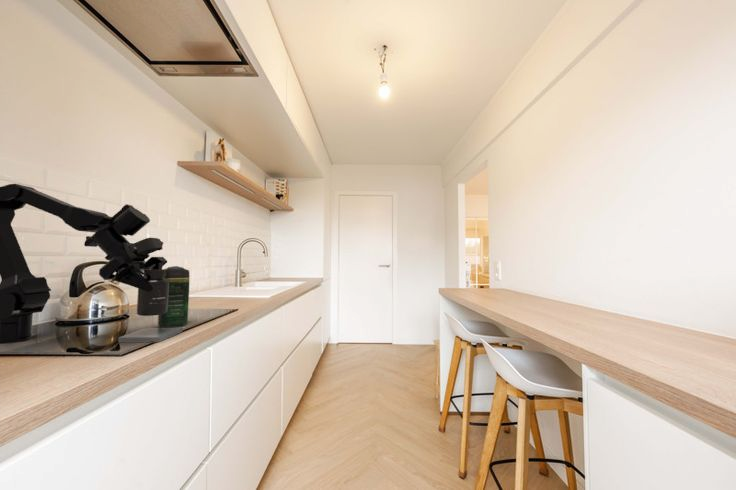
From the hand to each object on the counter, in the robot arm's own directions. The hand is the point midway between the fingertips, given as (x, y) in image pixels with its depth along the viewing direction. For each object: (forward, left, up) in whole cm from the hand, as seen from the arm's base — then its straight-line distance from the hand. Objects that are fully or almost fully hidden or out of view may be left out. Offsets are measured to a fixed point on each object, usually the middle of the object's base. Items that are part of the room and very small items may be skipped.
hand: (159, 289), depth 79 cm
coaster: (0, -1, -13) cm, 13 cm away
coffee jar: (-14, +3, -13) cm, 20 cm away
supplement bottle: (-1, -1, -7) cm, 7 cm away
